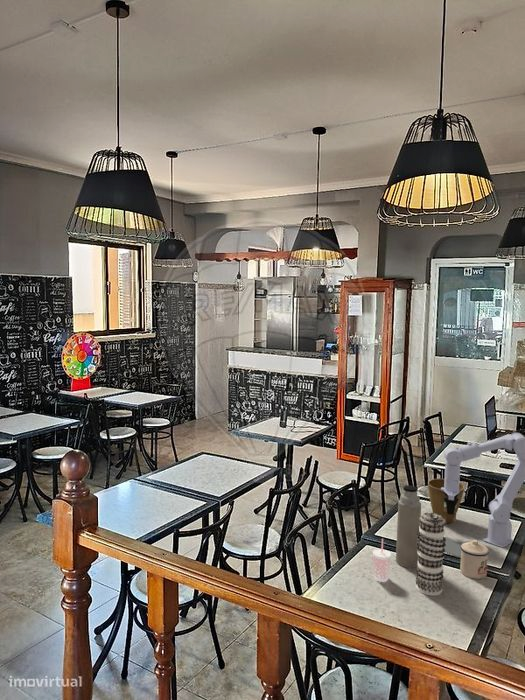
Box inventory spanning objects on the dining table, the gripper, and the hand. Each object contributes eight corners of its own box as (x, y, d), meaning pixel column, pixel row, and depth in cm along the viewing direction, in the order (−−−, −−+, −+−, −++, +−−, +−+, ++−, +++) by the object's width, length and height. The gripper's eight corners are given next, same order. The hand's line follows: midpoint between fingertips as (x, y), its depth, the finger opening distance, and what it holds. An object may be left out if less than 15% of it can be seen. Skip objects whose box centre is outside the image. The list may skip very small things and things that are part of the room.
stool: (443, 517, 219) (443, 501, 219) (456, 519, 218) (456, 503, 217) (442, 521, 215) (443, 506, 214) (456, 523, 213) (456, 508, 212)
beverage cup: (379, 584, 178) (381, 544, 177) (368, 576, 183) (369, 537, 182) (393, 580, 181) (395, 540, 180) (382, 572, 186) (383, 533, 185)
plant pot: (419, 519, 234) (421, 483, 232) (437, 510, 244) (438, 476, 242) (451, 530, 223) (453, 492, 221) (468, 520, 233) (470, 485, 231)
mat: (445, 537, 215) (445, 536, 215) (474, 548, 206) (474, 547, 206) (429, 546, 207) (429, 545, 207) (458, 557, 198) (458, 556, 198)
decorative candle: (411, 580, 181) (414, 509, 179) (438, 581, 181) (442, 510, 178) (418, 595, 172) (421, 520, 170) (447, 596, 172) (451, 521, 169)
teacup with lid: (482, 582, 181) (484, 549, 180) (455, 573, 187) (457, 541, 186) (493, 569, 190) (495, 537, 189) (467, 561, 196) (469, 530, 195)
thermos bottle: (398, 555, 199) (401, 482, 197) (420, 559, 196) (423, 485, 194) (393, 564, 192) (397, 488, 190) (416, 569, 189) (420, 492, 186)
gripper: (441, 472, 223) (440, 503, 224) (441, 483, 209) (439, 516, 210) (459, 474, 220) (458, 506, 221) (460, 485, 207) (458, 519, 208)
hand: (450, 511), depth 216 cm, fingers closed on stool, 5 cm apart
